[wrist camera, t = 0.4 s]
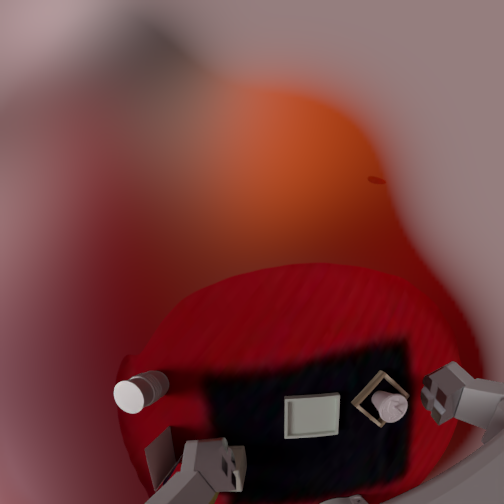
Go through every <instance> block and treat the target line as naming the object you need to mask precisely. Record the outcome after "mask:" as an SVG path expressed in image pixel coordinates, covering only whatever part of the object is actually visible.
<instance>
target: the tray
mask: <svg viewBox="0 0 504 504" xmlns="http://www.w3.org/2000/svg"><path fill="white" fill-rule="evenodd" d="M339 409H340V394H339V393H338V392H336V393H326V394H315V395H300V396H285V410H284V437H285V439H289V438H306V437H318V436H328V435H337V434H338V427H339Z"/></svg>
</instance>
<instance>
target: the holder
mask: <svg viewBox="0 0 504 504" xmlns="http://www.w3.org/2000/svg"><path fill="white" fill-rule="evenodd" d="M383 378H385V379H386V380H387V381H388V382H389V383H390V384H391V385H392V386H393V387H395V388H396V389H397V390H398V391H399V392H400V393H401V394H400V395H402V396H404V397H405V398H406V400H407V398H408V397H409V396H410V395H409V394H408V393H407V392H405V391H404V390H403V389H402V388H401V387H400V386H399V385H398V384H397V383H396V382H395V381H394V380H393V379H392V378H390V377H389V376H388V375H387V374H386V373H385V372H383V371H381V370H380V371H379V372H378V373H377V374H376V375H375V377H374V378H373V379H372V380H371V381H370V382H369V383H368V384H367V386H366V387H365V388H364V389H363V390H362V391H361V392H360V393H359V394H358V395H357V396H356V397H355V398H354V400H353V401H352V402H351V403H352V404H353V405H354V406H355V407H356V408H358V409H359V410H360V411H361V412H362V413H364V414H365V415H366V416H367V417H368V418H370V419H371V420H372V421H373V422H374V423H376V424H377V425H378V426H379V427H382V426H383V425H384V424H385V423H386V421H384V420H383V419H381V417H380V418H379V419H378V420H376V419H375V418H374V417H373V416H371V415H370V414H369V413H368V412H367V411H366V410H364V409H363V408H362V407H361V406H360V405H359V404H360V403H361V402H362V401H363V400H364V399H365V398H366V397H367V396H368V395H369V394H370V393H371V391H372V390H373V389H374V388H375V387H376V386H377V385H378V384H379V382H380V381H381V380H382V379H383Z"/></svg>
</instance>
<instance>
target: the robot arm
mask: <svg viewBox="0 0 504 504" xmlns="http://www.w3.org/2000/svg"><path fill="white" fill-rule="evenodd" d="M423 384H424V387H423V389H422V390H421V401H422V404H423V406H424V407H425V408H426V410H430V411H432V414H431V416H432V418H433V419H434V420H435V421H436V423H437V424H438V425H440V424H442V423H444V422H446V421H447V420H449V419H451V418H453V417H454V416H455V418H457V419H460V420H462V421H465V422H468V423H470V424H473V425H475V426H478V427H481V428H484V429H486V431H485V433H484V435H483V437H482V442H483V443H484V445H483V446H481V447H480V448H479V449H477V450H476V451H475V452H473V453H472V454H470V455H469V456H468V457H466V458H465V459H463V460H462V461H460V462H459V463H457V464H456V465H454V466H452V467H451V468H449V469H448V470H446V471H444V472H443V473H441V474H439V475H437V476H436V477H434V478H432V479H430V480H429V481H427V482H425V483H423V484H421V485H419V486H417V487H415V488H413V489H411V490H409V491H407V492H405V493H403V494H401V495H399V496H396V497H394V498H392V499H390V500H387V501H385V502H383V503H380V504H504V383H501V382H494V381H489V380H484V379H478V378H477V379H473V378H472V377H471V376H470V375H469V374H468V373H467V372H466V371H465V370H464V369H462V368H461V367H460V366H459V365H458V364H457V363H456V362H453V361H452V362H450V363H449V364H447V365H445V366H443V367H441V368H439V369H437V370H435V371H434V372H432V373H430V374H428V375H426V376H425V377H424V378H423ZM235 469H236V462H235V457H234V454H233V451H232V450H231V448H229V447H228V442H227V440H226V439H225V438H215V439H203V440H190V441H186V443H185V447H184V453H183V459H182V466H181V472H177V473H176V474H175V475H174V476H173V477H172V478H171V479H170V480H169V481H168V482H167V483H166V484H165V485H164V486H163V487H162V488H161V489H160V490H159V491H157V492H156V493H155V494H154V495H153V496H152V497H151V498H150V499H149V500H148V501H147V502H146V503H145V504H208V503H209V502H210V501H211V499H212V498H213V496H214V495H215V492H224V491H233V490H236V476H235V475H234V473H233V472H234V470H235ZM358 500H359V501H358ZM320 504H368V503H367V501H366V500H365V499H364V498H363V497H362V496H361V495H354V496H351V497H347V498H335V499H330V500H327V501H324V502H322V503H320Z"/></svg>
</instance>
